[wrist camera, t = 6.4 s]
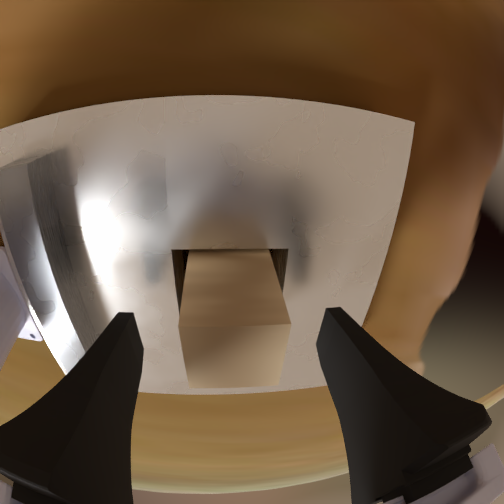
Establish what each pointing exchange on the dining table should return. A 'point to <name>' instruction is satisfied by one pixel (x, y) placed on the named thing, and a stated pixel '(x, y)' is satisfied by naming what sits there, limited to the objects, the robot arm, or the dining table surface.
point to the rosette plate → (197, 216)
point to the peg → (232, 319)
